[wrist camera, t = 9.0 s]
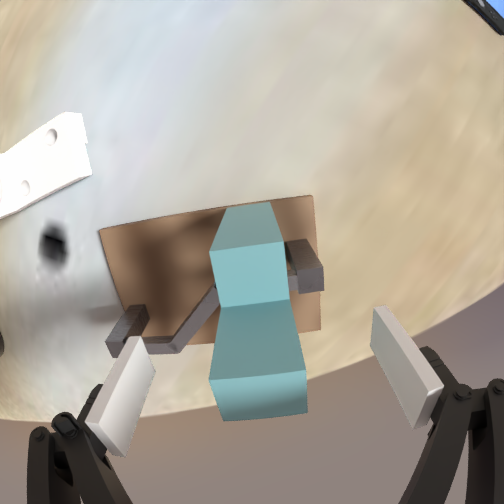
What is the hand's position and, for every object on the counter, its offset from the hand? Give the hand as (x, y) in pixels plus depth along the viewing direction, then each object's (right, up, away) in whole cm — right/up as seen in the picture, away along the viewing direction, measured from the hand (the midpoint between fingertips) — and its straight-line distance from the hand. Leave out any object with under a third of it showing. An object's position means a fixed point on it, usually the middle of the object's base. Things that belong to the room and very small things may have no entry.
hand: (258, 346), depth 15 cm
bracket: (-24, +15, +11) cm, 30 cm away
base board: (-4, +2, +15) cm, 16 cm away
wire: (-4, +2, +15) cm, 16 cm away
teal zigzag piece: (0, +5, +13) cm, 14 cm away
